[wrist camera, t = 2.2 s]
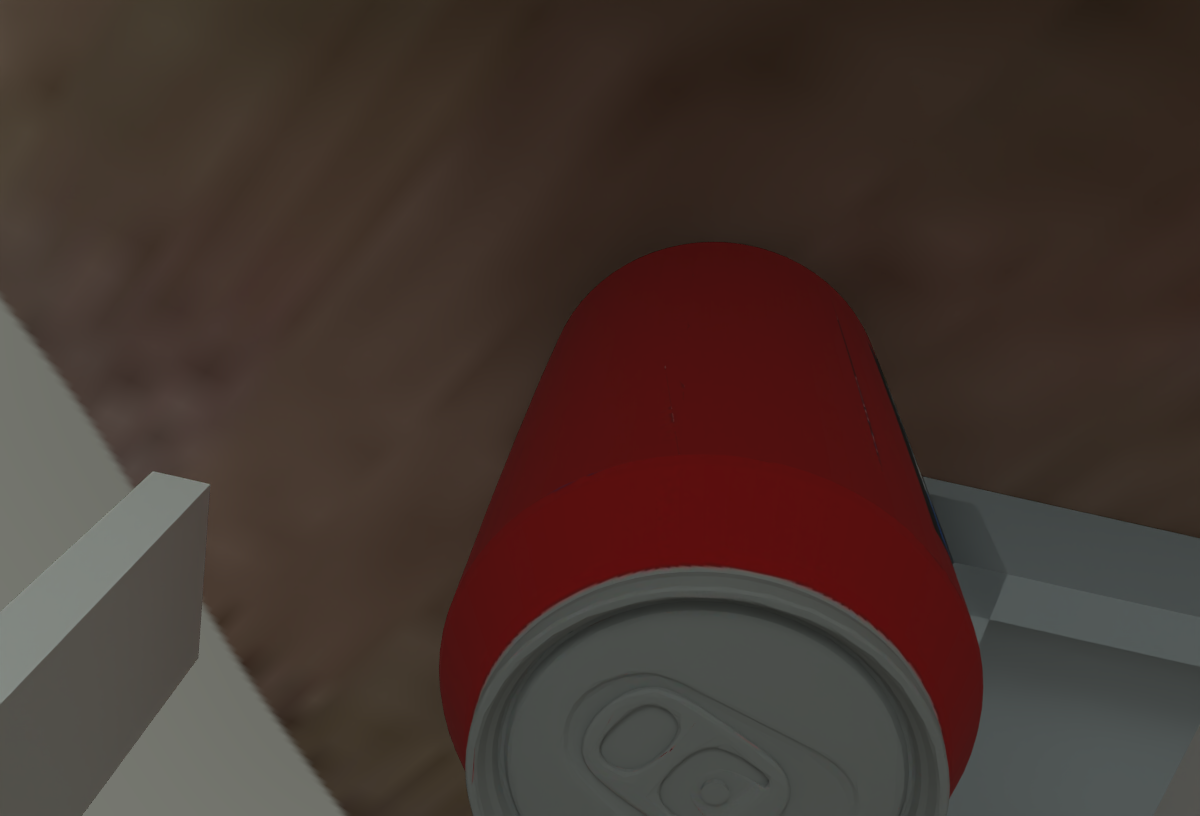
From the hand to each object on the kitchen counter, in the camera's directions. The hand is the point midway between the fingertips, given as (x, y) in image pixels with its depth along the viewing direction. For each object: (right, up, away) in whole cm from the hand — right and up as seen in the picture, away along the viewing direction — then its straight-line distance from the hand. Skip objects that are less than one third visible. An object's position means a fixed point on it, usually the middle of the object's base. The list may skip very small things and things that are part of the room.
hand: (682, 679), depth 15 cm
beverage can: (+1, +4, +9) cm, 10 cm away
